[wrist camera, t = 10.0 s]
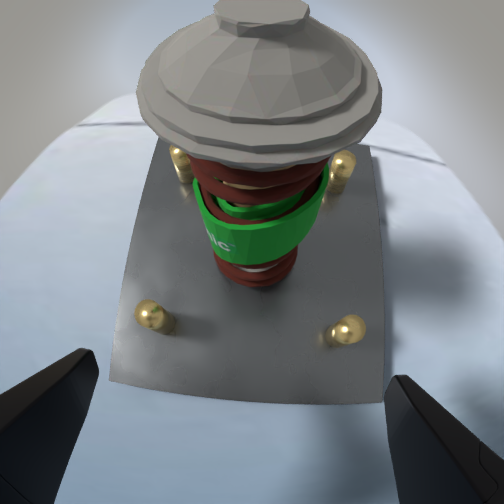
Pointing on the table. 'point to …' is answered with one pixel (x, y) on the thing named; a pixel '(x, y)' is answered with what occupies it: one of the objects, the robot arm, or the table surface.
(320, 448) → the table surface
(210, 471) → the table surface
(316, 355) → the plate
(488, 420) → the table surface
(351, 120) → the shock absorber
